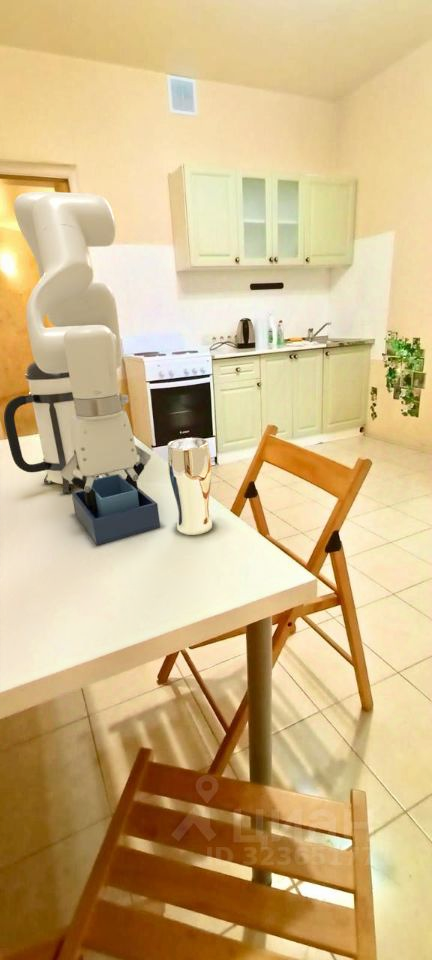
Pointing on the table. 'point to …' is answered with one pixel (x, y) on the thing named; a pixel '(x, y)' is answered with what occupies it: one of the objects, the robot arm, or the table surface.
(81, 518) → the big bin
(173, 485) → the beer glass
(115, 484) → the small bin
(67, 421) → the coffee press
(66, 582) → the table surface
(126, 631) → the table surface
